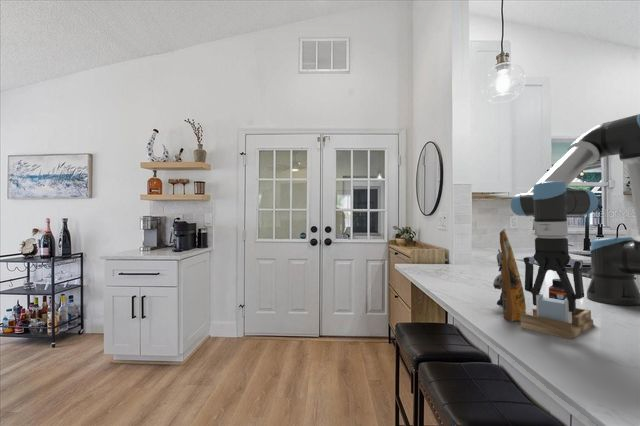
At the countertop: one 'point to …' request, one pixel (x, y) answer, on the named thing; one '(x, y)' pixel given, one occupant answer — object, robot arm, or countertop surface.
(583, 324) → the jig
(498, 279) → the robot
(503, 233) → the pancake mix bag
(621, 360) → the countertop surface
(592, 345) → the countertop surface
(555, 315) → the wing block
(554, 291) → the supplement bottle
